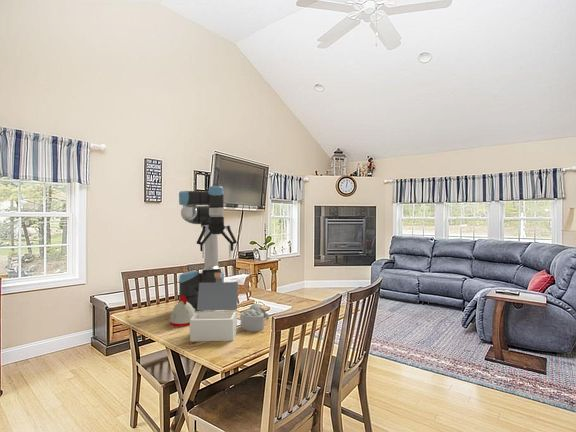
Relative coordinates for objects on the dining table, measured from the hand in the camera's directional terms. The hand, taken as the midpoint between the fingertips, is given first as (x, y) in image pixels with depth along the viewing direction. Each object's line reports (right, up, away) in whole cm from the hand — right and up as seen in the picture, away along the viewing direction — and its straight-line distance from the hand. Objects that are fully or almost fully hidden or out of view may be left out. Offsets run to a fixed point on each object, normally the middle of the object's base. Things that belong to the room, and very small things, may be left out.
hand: (217, 257), depth 178 cm
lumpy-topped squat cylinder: (+19, -37, +1) cm, 41 cm away
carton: (+1, -37, -10) cm, 38 cm away
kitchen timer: (-21, -37, +11) cm, 44 cm away
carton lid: (0, -16, -4) cm, 16 cm away
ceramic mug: (+21, -37, +16) cm, 45 cm away
